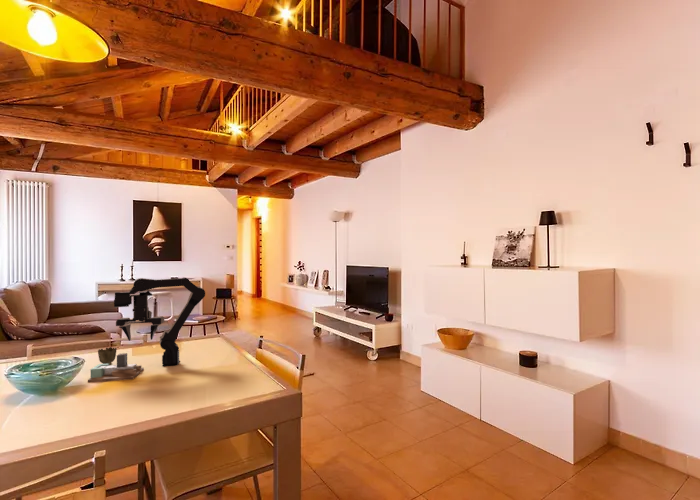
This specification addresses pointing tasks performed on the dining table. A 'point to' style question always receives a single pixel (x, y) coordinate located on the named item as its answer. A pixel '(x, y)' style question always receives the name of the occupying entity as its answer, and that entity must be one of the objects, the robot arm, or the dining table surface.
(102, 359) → the cup
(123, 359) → the grey t-shaped block
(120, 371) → the slide base
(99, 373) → the socket block
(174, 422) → the dining table surface
